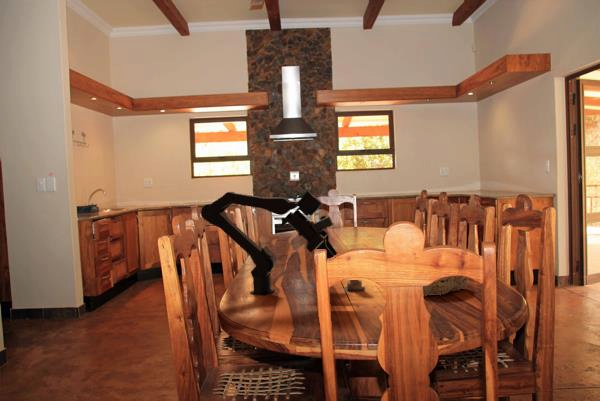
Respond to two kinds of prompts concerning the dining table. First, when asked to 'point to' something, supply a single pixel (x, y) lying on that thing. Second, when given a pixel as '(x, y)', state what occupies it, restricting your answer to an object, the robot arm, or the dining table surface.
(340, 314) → the dining table surface
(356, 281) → the stamp
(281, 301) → the dining table surface
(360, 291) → the stamping board
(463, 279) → the rock
